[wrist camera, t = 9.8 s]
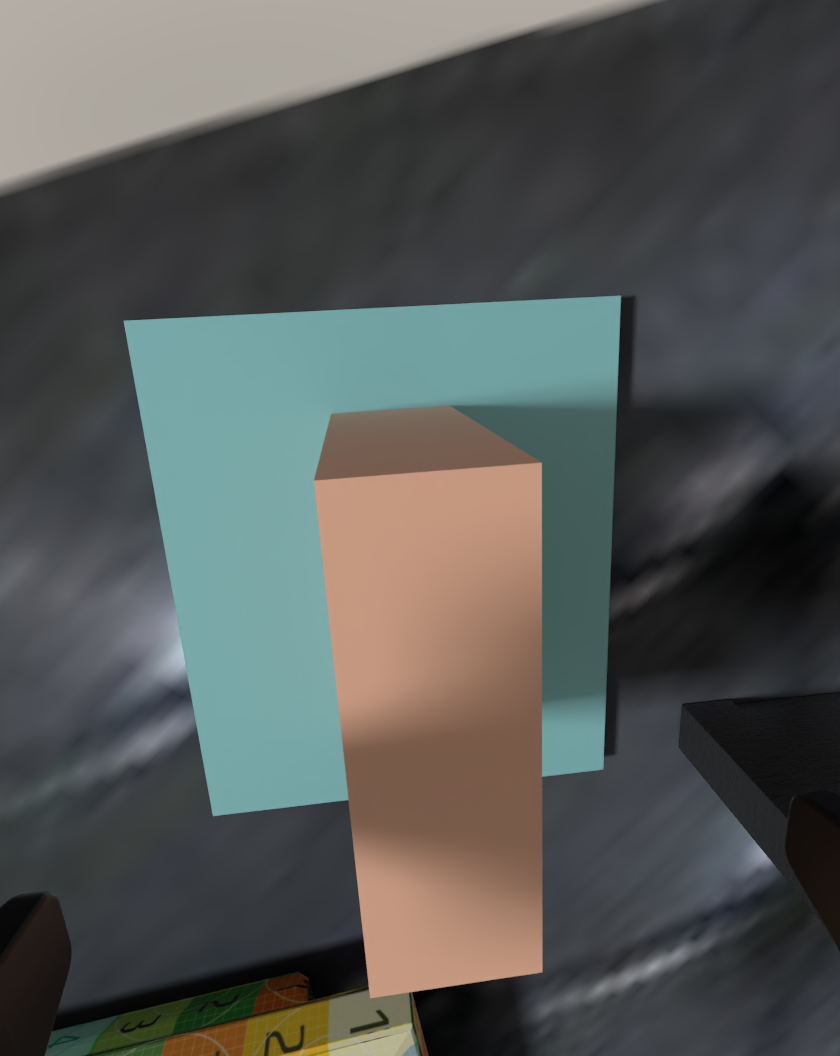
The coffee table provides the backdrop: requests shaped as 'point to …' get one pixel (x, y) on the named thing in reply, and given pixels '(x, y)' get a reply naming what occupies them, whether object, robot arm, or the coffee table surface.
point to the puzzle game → (255, 1025)
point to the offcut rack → (765, 761)
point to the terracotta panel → (437, 689)
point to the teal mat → (292, 522)
